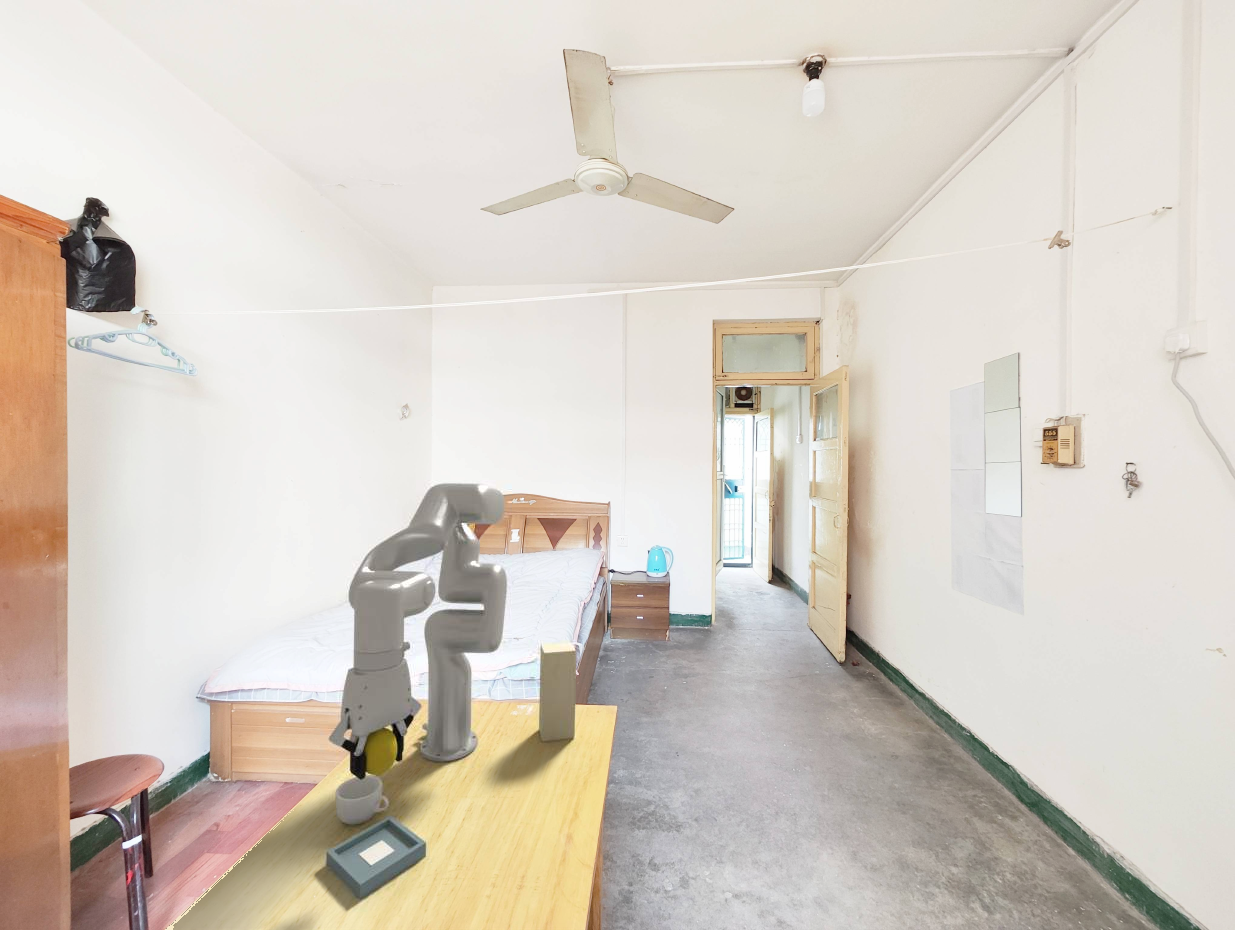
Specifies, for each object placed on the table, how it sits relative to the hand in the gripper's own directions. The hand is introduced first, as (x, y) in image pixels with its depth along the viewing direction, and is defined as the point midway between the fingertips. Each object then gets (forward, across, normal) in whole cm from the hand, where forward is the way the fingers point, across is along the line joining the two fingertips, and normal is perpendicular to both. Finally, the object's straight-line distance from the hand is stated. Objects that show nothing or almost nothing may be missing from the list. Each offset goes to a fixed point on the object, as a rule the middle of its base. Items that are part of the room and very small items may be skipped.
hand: (377, 765), depth 85 cm
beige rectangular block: (+16, -48, -5) cm, 51 cm away
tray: (+16, 0, 0) cm, 16 cm away
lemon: (+2, 0, 0) cm, 2 cm away
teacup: (+16, -4, -12) cm, 20 cm away
